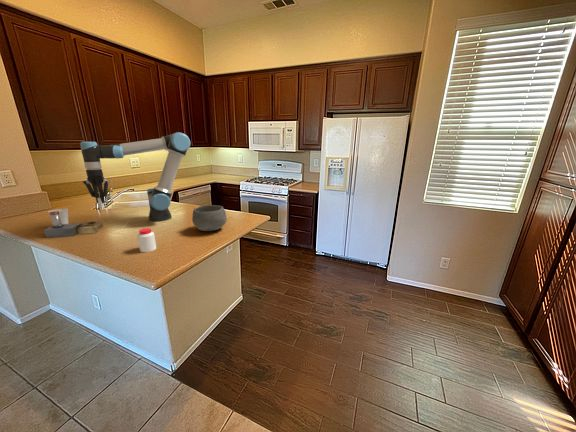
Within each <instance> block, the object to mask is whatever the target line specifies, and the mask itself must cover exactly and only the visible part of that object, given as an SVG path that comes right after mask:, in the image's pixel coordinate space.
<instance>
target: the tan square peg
mask: <svg viewBox="0 0 576 432" xmlns="http://www.w3.org/2000/svg"><path fill="white" fill-rule="evenodd" d="M76 231H77V235H81V234H83V235H84V234H96V233H98V232H99V230H98V228H97V225H94V226H88V227H77V228H76Z"/></svg>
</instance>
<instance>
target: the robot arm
mask: <svg viewBox="0 0 576 432" xmlns="http://www.w3.org/2000/svg"><path fill="white" fill-rule="evenodd" d="M79 145H80V151H81V155H82V160H83V163H84V168H85V169H86V170H85V173H86V177H87V178H86V180H84V181H82V183H83V184H84V185H85V187H86V188H87V190H88V193H89V194H90V196H91V197H92V198H94V199H95V201H96V203H97V204H98V208H99V209H105V202H106V199H105V198H106V197H107V196H108V191H109V190H108V189H109V184H110V180H107V179H105V177H104V172H103V169H102V162H101V159H103V160H104V159H117V160H118V159H123V158H124V157H126V156H131V155H137V154H144V153H150V152H156V151H162V150H163V151H164V150H165V151H167V157H166V158H165V161H164V165H163V168H162V172H161V174H160V177H159V180H158V183H157V186H155V187H153V188H148V189H147V190H146V193H147V198H148V199H147V200H148V205H149V212H148V220H149V221H150V222H163V221H168V220H170V219H172V213H171V212H170V211H171V210H169V207H170V206H171V202H172V201H171V198H172V195H173V191H172V189H173V188H172V187H173V186H174V183H175V179H176V176H177V173H178V170H179V167H180V164H181V162H182V158H185V157H186V154H187V151H188V150H189V149H190V147H191V140H190V138H189V136H188V135H187V134H185V133H183V132H179V131H178V132H173V133H171V134H168V135H165V136H161V137H160V138H154V139H153V138H152V139H147V140H139V141H132V142H131V141H129V142H124V143H118V144H109V145H107V144H106V145H101V144H98V142H96V141H81V142H80V143H79ZM103 183H104V184H103Z"/></svg>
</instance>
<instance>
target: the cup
mask: <svg viewBox="0 0 576 432" xmlns="http://www.w3.org/2000/svg"><path fill="white" fill-rule="evenodd" d="M54 211H59V215H60V218H61V222H62V224H69V209H68V208H57V209H52V210H48V211H47V213H48V215H49V216H50V212H54Z"/></svg>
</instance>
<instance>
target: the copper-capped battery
mask: <svg viewBox="0 0 576 432" xmlns="http://www.w3.org/2000/svg"><path fill="white" fill-rule="evenodd" d="M49 217H50V219H51V223H52V226H53V227H54V228H60V227H62V226H63V225H62V222H61V218H60V215H59V211H54V212H50V215H49Z"/></svg>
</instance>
